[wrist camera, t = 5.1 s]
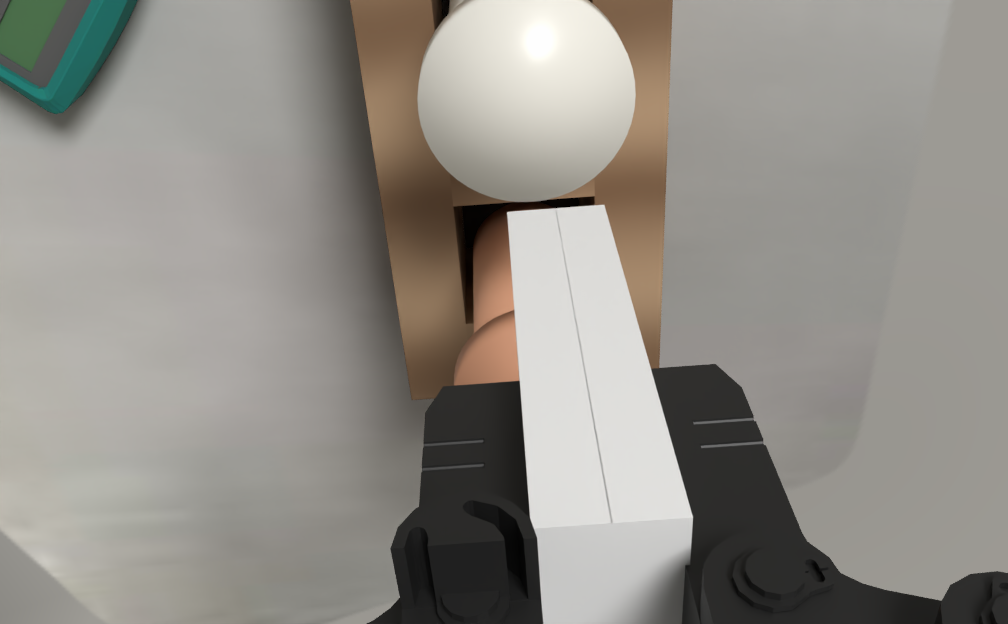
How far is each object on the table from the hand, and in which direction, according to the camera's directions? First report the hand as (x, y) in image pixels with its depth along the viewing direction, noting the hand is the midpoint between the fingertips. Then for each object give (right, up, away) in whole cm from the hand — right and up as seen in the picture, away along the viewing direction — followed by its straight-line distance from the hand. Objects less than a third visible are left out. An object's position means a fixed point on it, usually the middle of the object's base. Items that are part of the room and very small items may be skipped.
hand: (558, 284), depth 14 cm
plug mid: (-1, +9, +15) cm, 17 cm away
